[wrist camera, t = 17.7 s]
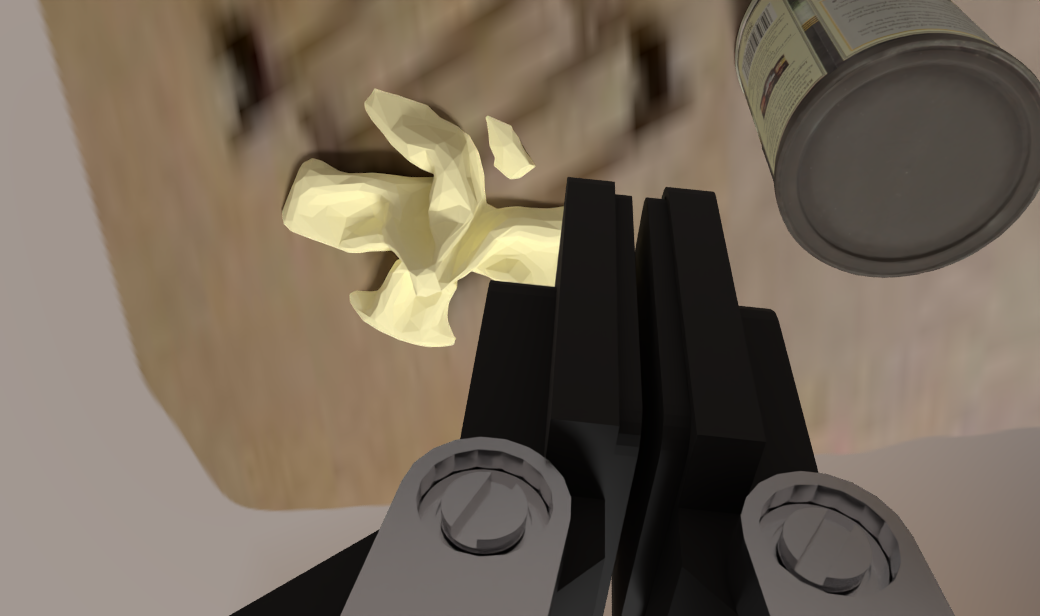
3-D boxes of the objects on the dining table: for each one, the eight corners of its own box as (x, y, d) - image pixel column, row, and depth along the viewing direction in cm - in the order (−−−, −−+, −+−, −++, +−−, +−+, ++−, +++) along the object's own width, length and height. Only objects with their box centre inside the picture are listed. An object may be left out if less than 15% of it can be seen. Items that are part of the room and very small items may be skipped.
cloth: (652, 280, 56) (657, 341, 51) (417, 381, 62) (401, 443, 58) (460, -33, 45) (441, 5, 40) (201, 129, 52) (159, 179, 47)
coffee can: (936, 117, 47) (1039, 261, 36) (741, 148, 49) (781, 293, 38) (948, -82, 41) (1076, 15, 30) (726, -39, 43) (769, 68, 32)
